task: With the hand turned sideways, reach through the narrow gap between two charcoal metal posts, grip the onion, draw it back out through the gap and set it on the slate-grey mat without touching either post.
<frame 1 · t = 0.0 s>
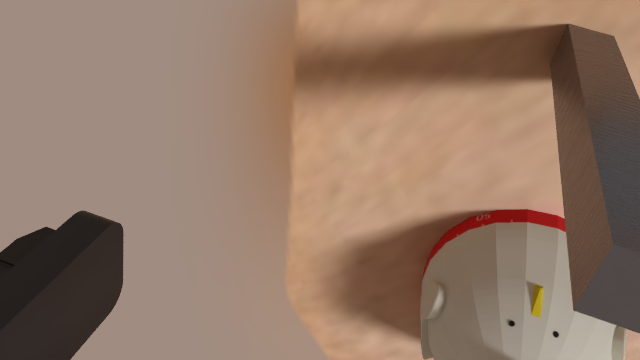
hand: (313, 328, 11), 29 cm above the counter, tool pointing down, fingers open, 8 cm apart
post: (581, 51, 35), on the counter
kitchen timer: (518, 286, 45), on the counter
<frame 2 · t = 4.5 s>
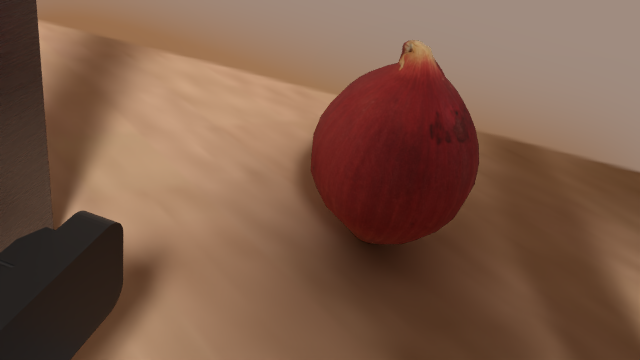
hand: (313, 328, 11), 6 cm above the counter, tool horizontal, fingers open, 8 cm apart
onion: (367, 241, 23), on the counter
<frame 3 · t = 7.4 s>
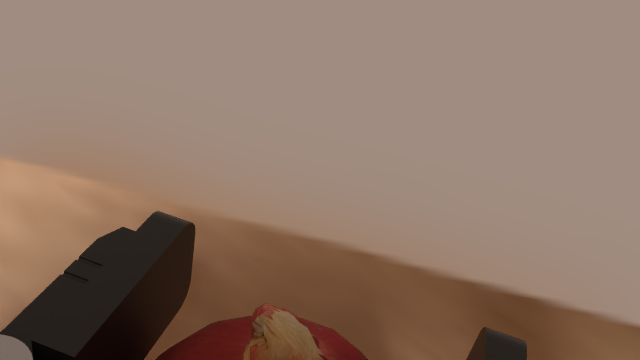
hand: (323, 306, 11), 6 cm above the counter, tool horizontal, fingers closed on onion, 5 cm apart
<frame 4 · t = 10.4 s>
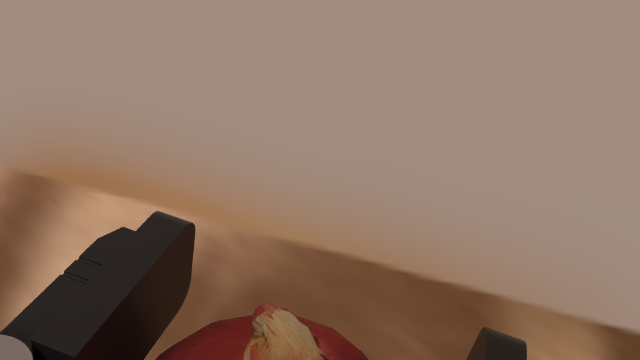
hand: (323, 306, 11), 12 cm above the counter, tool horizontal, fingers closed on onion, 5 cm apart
when the fingers open (7 cm above the counter, at t = 13.2 s): onion stays where it is, resting on mat.
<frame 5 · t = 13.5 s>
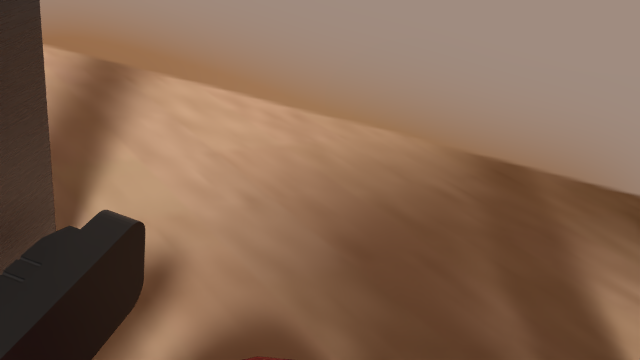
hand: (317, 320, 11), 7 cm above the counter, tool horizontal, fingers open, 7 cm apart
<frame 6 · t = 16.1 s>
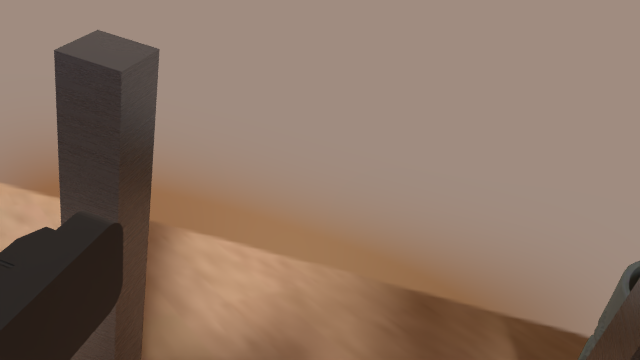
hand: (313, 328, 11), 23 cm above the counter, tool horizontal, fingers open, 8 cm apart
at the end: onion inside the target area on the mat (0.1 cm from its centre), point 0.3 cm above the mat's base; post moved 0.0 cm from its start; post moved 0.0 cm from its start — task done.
